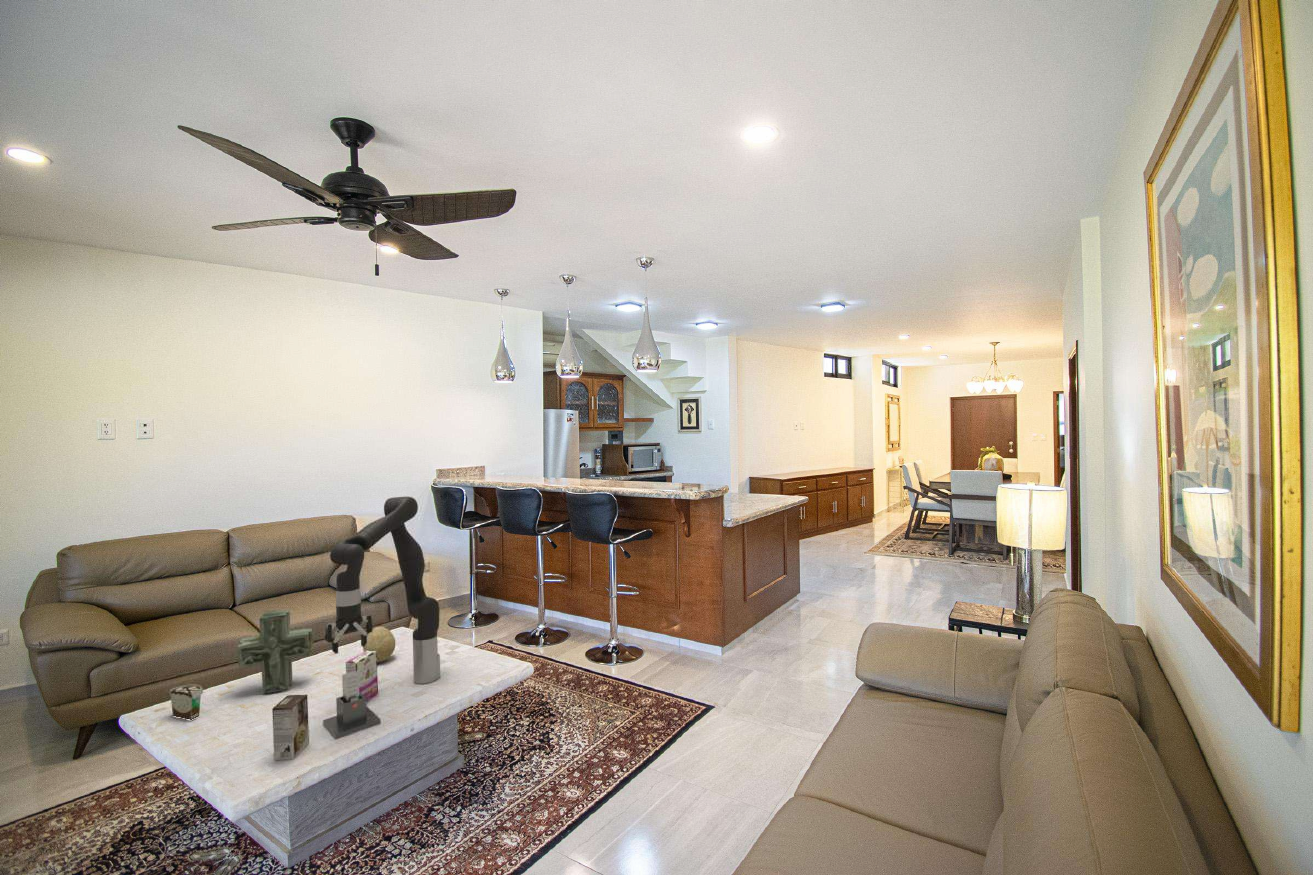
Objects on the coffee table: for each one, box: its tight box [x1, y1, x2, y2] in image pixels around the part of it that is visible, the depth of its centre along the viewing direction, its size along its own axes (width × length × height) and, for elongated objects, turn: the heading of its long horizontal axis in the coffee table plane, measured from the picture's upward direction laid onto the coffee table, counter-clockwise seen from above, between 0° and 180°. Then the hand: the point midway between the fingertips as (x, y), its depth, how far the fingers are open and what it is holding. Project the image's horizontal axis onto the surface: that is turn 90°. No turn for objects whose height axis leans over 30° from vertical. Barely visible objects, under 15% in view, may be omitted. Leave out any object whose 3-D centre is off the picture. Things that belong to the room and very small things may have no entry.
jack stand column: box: [341, 671, 359, 703], centre depth 200 cm, size 4×4×16 cm
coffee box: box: [271, 694, 310, 761], centre depth 183 cm, size 9×6×16 cm
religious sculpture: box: [237, 608, 314, 695], centre depth 229 cm, size 24×12×30 cm, turn 114°
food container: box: [168, 683, 204, 721], centre depth 209 cm, size 12×6×10 cm, turn 71°
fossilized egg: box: [362, 626, 396, 663], centre depth 255 cm, size 13×13×15 cm
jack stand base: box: [322, 692, 382, 740], centre depth 200 cm, size 14×14×10 cm
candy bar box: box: [345, 651, 379, 702], centre depth 218 cm, size 11×5×16 cm, turn 168°
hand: (349, 649), depth 200 cm, fingers open, 8 cm apart
